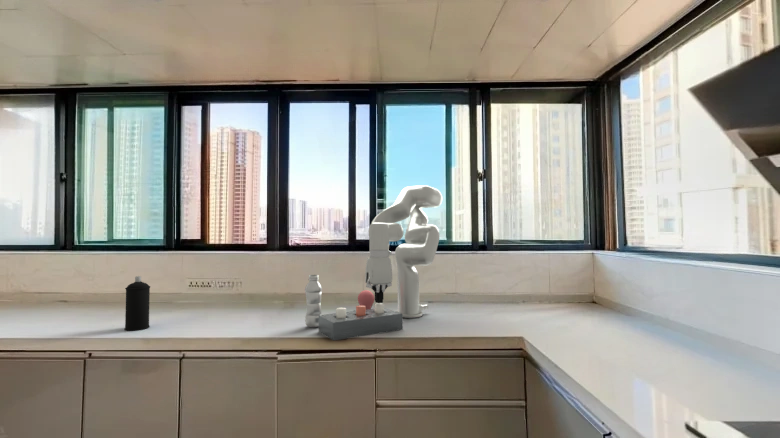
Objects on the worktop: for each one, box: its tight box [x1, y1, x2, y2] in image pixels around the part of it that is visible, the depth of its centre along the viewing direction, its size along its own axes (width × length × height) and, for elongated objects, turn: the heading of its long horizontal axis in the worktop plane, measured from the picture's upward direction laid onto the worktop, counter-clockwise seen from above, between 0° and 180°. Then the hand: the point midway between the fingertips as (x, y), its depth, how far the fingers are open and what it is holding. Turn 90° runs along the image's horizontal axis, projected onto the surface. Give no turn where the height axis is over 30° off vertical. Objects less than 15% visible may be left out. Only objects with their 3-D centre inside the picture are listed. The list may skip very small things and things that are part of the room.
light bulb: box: [357, 289, 375, 310], centre depth 164 cm, size 7×7×12 cm
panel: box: [318, 307, 404, 341], centre depth 144 cm, size 28×14×6 cm, turn 121°
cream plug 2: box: [374, 302, 385, 314], centre depth 148 cm, size 4×4×6 cm
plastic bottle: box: [304, 274, 323, 328], centre depth 150 cm, size 6×7×20 cm
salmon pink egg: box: [355, 305, 366, 316], centre depth 144 cm, size 4×4×6 cm
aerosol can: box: [124, 275, 151, 332], centre depth 149 cm, size 8×8×20 cm
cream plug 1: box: [335, 307, 347, 319], centre depth 140 cm, size 4×4×6 cm
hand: (379, 302), depth 148 cm, fingers closed
